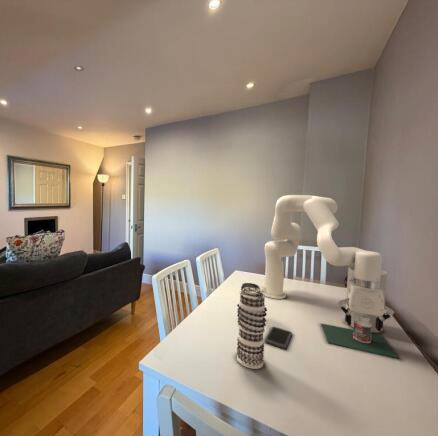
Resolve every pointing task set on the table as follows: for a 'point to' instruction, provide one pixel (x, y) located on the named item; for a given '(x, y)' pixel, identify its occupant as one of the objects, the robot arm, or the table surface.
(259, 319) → the black white tall cylinder
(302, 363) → the table surface
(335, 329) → the right mat
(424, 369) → the table surface
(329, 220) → the robot arm
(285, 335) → the cell phone
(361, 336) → the pill bottle
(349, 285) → the cylinder vase
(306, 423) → the table surface
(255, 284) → the coffee cup
